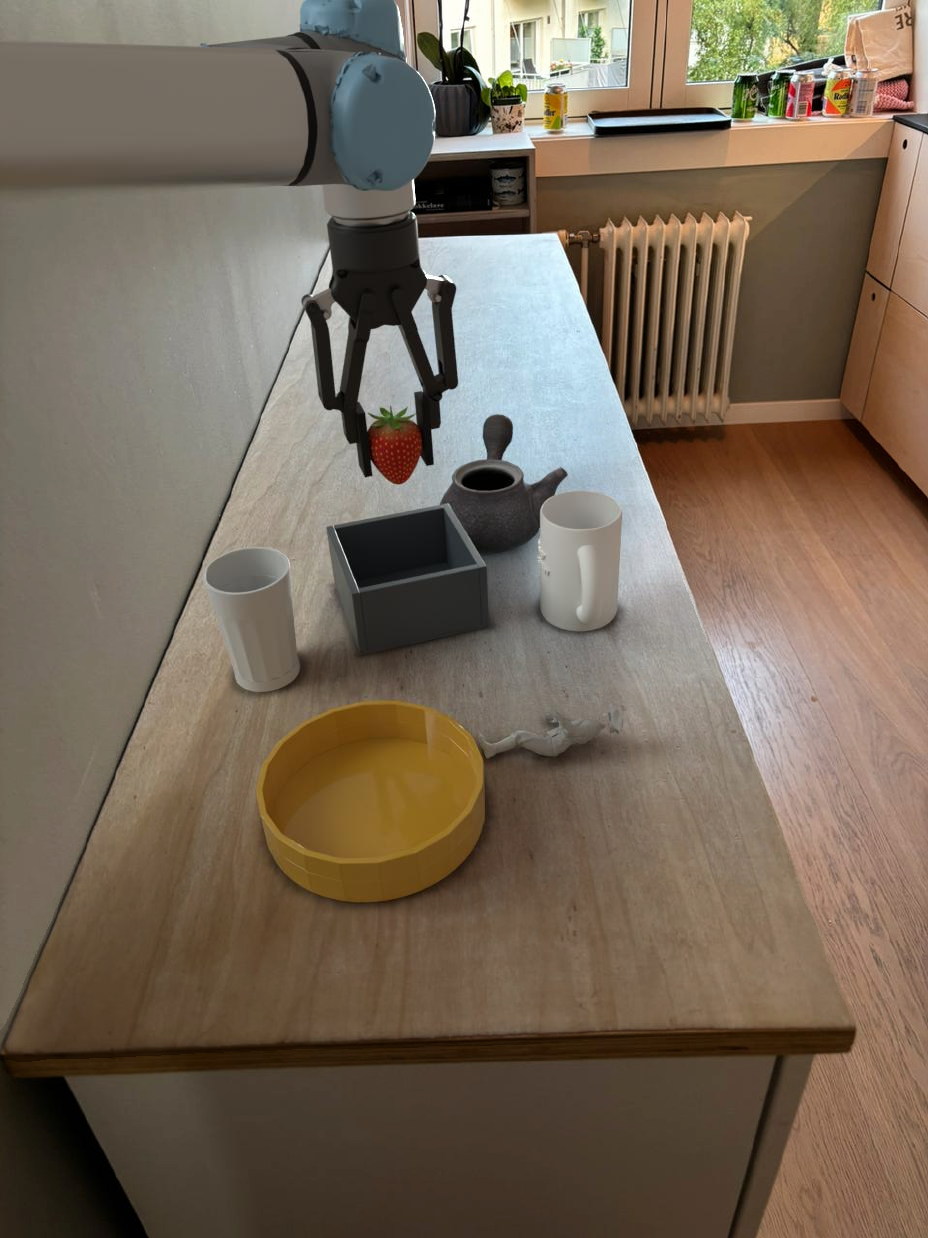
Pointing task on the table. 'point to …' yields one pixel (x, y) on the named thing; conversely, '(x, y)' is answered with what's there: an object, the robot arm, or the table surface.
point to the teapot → (498, 494)
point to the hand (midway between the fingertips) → (396, 464)
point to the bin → (408, 578)
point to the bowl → (372, 800)
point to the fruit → (394, 445)
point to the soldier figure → (555, 735)
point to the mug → (579, 559)
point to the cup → (255, 615)
